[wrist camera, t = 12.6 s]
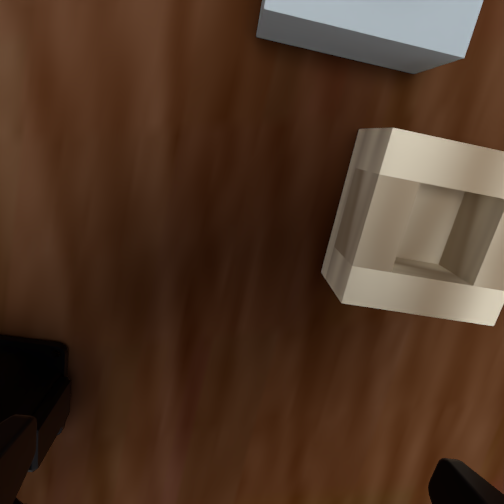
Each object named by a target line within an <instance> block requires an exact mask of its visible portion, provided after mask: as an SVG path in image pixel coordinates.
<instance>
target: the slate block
mask: <svg viewBox="0 0 504 504" xmlns="http://www.w3.org/2000/svg"><path fill="white" fill-rule="evenodd" d="M482 3H483V0H262V4H261V10H260V15H259V21H258V27H257V33H256V37H258V38H262V39H267V40H271V41H275V42H280V43H284V44H288V45H292V46H297V47H301V48H305V49H309V50H314V51H318V52H322V53H326V54H331V55H335V56H339V57H343V58H348V59H352V60H356V61H360V62H365V63H369V64H373V65H377V66H382V67H386V68H390V69H394V70H399V71H403V72H407V73H411V74H416V73H419V72H422V71H425V70H428V69H432V68H435V67H438V66H441V65H444V64H447V63H450V62H453V61H456V60H460V59H463V58H464V57H465V54H466V51H467V48H468V45H469V42H470V39H471V36H472V33H473V30H474V27H475V24H476V21H477V18H478V15H479V12H480V9H481V6H482Z"/></svg>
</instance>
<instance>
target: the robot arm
mask: <svg viewBox="0 0 504 504" xmlns="http://www.w3.org/2000/svg"><path fill="white" fill-rule="evenodd" d="M55 350H57V351H59V352H60V354H58V353H56V352H55ZM67 358H68V349H67V347H66V346H65V345H64V344H63V343H59V342H51V341H43V340H35V339H27V338H19V337H11V336H3V335H0V504H23V503H22V502H21V501H19V500H18V499H17V498H16V496H17V493H18V491H19V489H20V487H21V485H22V482H23V480H24V478H25V476H26V474H27V472H33V471H35V470H36V469H37V468H38V467H39V466H40V464H41V462H42V460H43V459H44V457H45V455H46V453H47V452H48V450H49V448H50V446H51V445H52V443H53V441H54V439H55V438H56V436H57V435H59V434H60V433H61V432H62V430H63V428H64V426H65V420H66V418H67V416H68V415H69V409H70V388H71V381H70V379H69V378H68V377H67ZM428 491H429V496H430V499H431V502H432V504H504V494H502V493H501V492H500V491H498V490H497V489H496V488H495V487H493V486H492V485H491V484H490V483H488V482H487V481H486V480H485V479H483V478H482V477H481V476H479V475H478V474H477V473H476V472H474V471H473V470H472V469H471V468H469V467H468V466H467V465H465V464H464V463H463V462H462V461H460V460H457V459H448V458H442V459H441V460H439V462H438V464H437V466H436V468H435V470H434V473H433V475H432V477H431V479H430V482H429V486H428Z"/></svg>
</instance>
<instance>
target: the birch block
mask: <svg viewBox="0 0 504 504" xmlns="http://www.w3.org/2000/svg"><path fill="white" fill-rule="evenodd" d="M321 273H322V275H323V276H324V278H325V279H326V281H327V282H328V284H329V285H330V287H331V288H332V290H333V291H334V293H335V294H336V296H337V297H338V299H339V300H340V302H341V303H344V304H350V305H357V306H363V307H370V308H377V309H383V310H390V311H397V312H403V313H410V314H416V315H423V316H430V317H436V318H443V319H450V320H456V321H463V322H469V323H476V324H483V325H489V326H494V324H495V322H496V320H497V318H498V315H499V313H500V311H501V309H502V306H503V304H504V151H499V150H494V149H490V148H485V147H480V146H476V145H471V144H466V143H462V142H457V141H452V140H448V139H443V138H438V137H434V136H429V135H425V134H420V133H415V132H411V131H406V130H401V129H397V128H371V129H359V131H358V135H357V138H356V142H355V146H354V150H353V154H352V157H351V161H350V165H349V169H348V172H347V176H346V180H345V184H344V187H343V191H342V195H341V199H340V202H339V206H338V210H337V214H336V217H335V221H334V225H333V229H332V232H331V236H330V240H329V244H328V247H327V251H326V255H325V259H324V262H323V266H322V270H321Z"/></svg>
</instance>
